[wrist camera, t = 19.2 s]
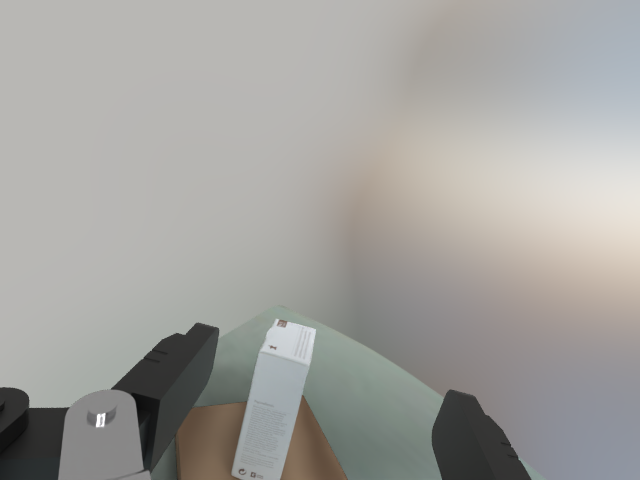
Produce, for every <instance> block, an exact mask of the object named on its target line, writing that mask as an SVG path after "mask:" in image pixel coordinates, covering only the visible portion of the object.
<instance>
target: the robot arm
mask: <svg viewBox="0 0 640 480" xmlns="http://www.w3.org/2000/svg"><path fill="white" fill-rule="evenodd" d="M218 336H219V328H217V327H213V326H209V325H205V324H201V323H196V324H195V325H194V326H193V327H192V328H191V329H190V330H189V331H188V333H186V335H182V334H179V333H176V334H174V335H171V336H169V337H167V338H165V339H162V340H161V341H160V342H159V343H158V344H157V345H156V346H155V347H154V348H153V349H152V351H150V352H149V353H148V354H147V355H146V356H145V357H144V359H142V360H141V361H139V362H138V364H136V365H135V366H134V367H133V368H132V369H131V370H130V371H129V372H128V373H127V374H126V375H125V376H124V377H123V378H122V379H121V380H120V381H119V382H118V383H117V384H116V385H115V386H114V387H112V388H111V390H102V391H97V392H94V393H91V394H88V395H86V396H84V397H82V398H80V399H79V400H78V401H76V402H75V403H74V404H73V405H72V406H71V407H68V408H29V397H28V395H27V394H26V393H25V392H24V391H22V390H19V389H15V388H5V387H3V388H0V480H151V477H150V474H151V472H152V471H153V469H154V467H155V466H156V464H157V463H158V461H159V459H160V458H161V456H162V455H163V453H164V452H165V450H166V448H167V447H168V445H169V444H170V442H171V440H172V439H173V437H174V436H175V434H176V432H177V431H178V429H179V428H180V426H181V424H182V423H183V421H184V420H185V418H186V417H187V415H188V413H189V412H190V410H191V409H192V407H193V405H194V404H195V402H196V401H197V399H198V397H199V396H200V394H201V393H202V391H203V390H204V388H205V386H206V384H207V382H208V380H209V378H210V375H211V372H212V369H213V364H214V358H215V353H216V348H217V342H218ZM432 446H433V450H434V453H435V457H436V460H437V463H438V467H439V470H440V473H441V476H442V480H531V478H530V476H529V475H528V473H527V471H526V469H525V468H524V466H523V464H522V463H521V461H520V460H518V456H517V454H516V452H515V451H514V449H513V448H511V444H510V442H509V440H508V439H507V437H506V435H505V434H504V432H503V430H502V429H501V428H500V427H499V426H498V425H497V424H496V423H495V422H494V421H493V420H492V419H491V418H490V417H489V416H487V415H485V413H484V412H483V410H482V408H481V406H480V404H479V403H478V401H477V399H476V397H475V396H473V395H470V394H466V393H462V392H458V391H455V390H449V391H448V392H447V393H446V396H445V398H444V401H443V403H442V406H441V408H440V411H439V413H438V416H437V418H436V421H435V423H434V426H433V430H432Z"/></svg>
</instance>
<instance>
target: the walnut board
mask: <svg viewBox="0 0 640 480" xmlns="http://www.w3.org/2000/svg"><path fill="white" fill-rule="evenodd" d="M246 405H247V402H239V403H230V404H221V405H213V406H204V407H196V408H192V409H191V410H190V412H189V413H188V415H187V417H186V418H185V420H184V421H183V423H182V424H181V426H180V428H179V429H178V431H177V432H176V434H175V444H176V461H177V478H178V480H242V479H239V478H236V477H234V476H232V475H231V472H232V467H233V462H234V458H235V453H236V449H237V445H238V440H239V436H240V432H241V427H242V423H243V418H244V414H245V410H246ZM280 480H348V479H347V477H346V475H345V473H344V471H343V470H342V468H341V466H340V464H339V462H338V460H337V458H336V456H335V454H334V453H333V451H332V449H331V447H330V445H329V443H328V441H327V439H326V437H325V436H324V434H323V432H322V430H321V428H320V426H319V424H318V422H317V420H316V419H315V417H314V415H313V413H312V411H311V409H310V407H309V405H308V404H307V402H306V400H305V398H304V396H303V395H302V397H301V401H300V405H299V410H298V414H297V417H296V421H295V425H294V429H293V433H292V437H291V441H290V445H289V449H288V452H287V456H286V460H285V464H284V468H283V471H282V475H281V478H280Z"/></svg>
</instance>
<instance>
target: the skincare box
mask: <svg viewBox="0 0 640 480" xmlns="http://www.w3.org/2000/svg"><path fill="white" fill-rule="evenodd" d="M315 333H316V330H315V329H313V328H310V327H306V326H302V325H298V324H295V323H291V322H287V321H283V320H279V319H275V320H274V322H273V324H272V326H271V328H270V329H269V330H268V332H267V334H266V338H265V340H264V342H263V344H262V346H261V348H260V350H259V352H258V356H257V361H256V365H255V369H254V374H253V378H252V383H251V388H250V392H249V397H248V401H247V405H246V410H245V414H244V418H243V423H242V427H241V432H240V436H239V440H238V445H237V449H236V453H235V458H234V462H233V467H232V472H231V475H232V476H234V477H236V478H239V479H242V480H280V478H281V475H282V471H283V468H284V464H285V460H286V456H287V452H288V449H289V445H290V441H291V437H292V433H293V429H294V425H295V421H296V417H297V414H298V410H299V405H300V401H301V397H302V393H303V389H304V385H305V380H306V377H307V374H308V371H309V367H310V364H311V357H312V351H313V346H314V340H315Z"/></svg>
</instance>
